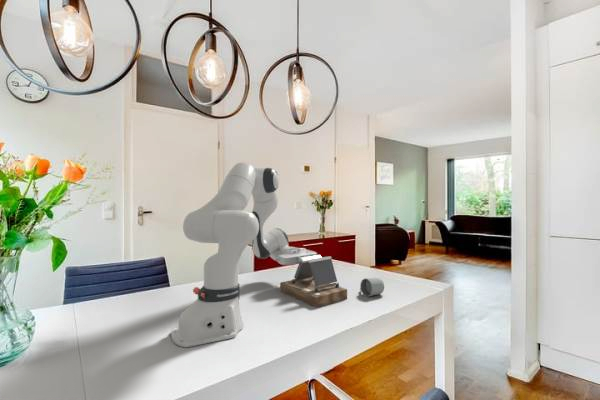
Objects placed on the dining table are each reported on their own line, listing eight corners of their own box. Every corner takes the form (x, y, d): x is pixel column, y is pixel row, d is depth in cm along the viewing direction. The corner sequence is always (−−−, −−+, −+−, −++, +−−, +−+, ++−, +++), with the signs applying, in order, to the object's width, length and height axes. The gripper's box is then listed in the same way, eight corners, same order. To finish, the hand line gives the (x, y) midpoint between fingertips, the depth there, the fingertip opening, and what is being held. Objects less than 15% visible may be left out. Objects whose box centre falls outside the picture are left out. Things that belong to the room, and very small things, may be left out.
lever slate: (318, 285, 124) (311, 259, 127) (315, 286, 126) (308, 260, 129) (337, 281, 131) (330, 256, 134) (334, 282, 132) (327, 257, 136)
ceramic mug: (385, 295, 132) (385, 278, 132) (371, 298, 128) (371, 280, 128) (368, 289, 141) (368, 273, 141) (355, 292, 137) (355, 275, 137)
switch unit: (316, 307, 118) (316, 292, 118) (280, 291, 139) (280, 278, 139) (347, 298, 128) (347, 284, 128) (309, 284, 149) (309, 272, 149)
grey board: (296, 280, 136) (303, 260, 132) (293, 277, 138) (301, 257, 133) (314, 276, 143) (322, 257, 138) (312, 273, 144) (319, 254, 140)
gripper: (272, 252, 143) (289, 256, 132) (306, 247, 155) (324, 251, 144) (272, 265, 143) (289, 270, 132) (306, 259, 155) (324, 264, 144)
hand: (308, 260), depth 138 cm, fingers closed
